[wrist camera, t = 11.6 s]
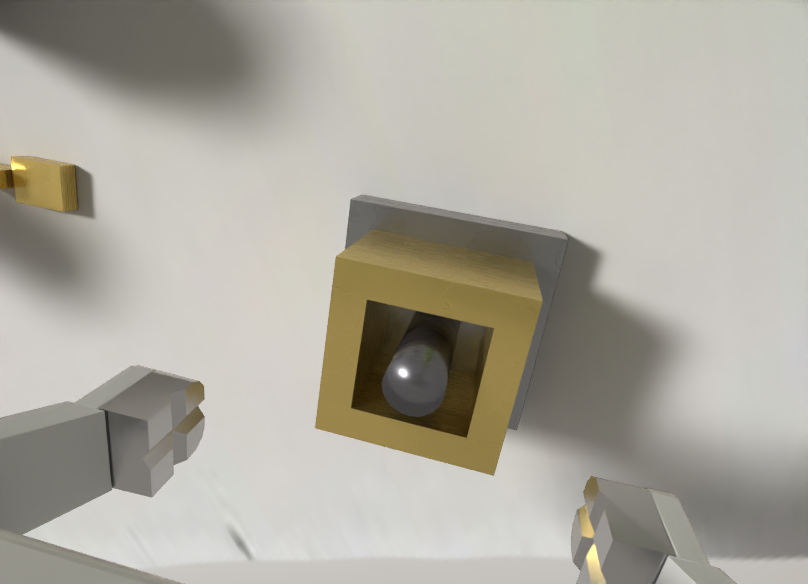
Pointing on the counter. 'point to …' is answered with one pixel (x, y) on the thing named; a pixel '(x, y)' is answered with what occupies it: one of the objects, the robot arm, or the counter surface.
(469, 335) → the grey peg stand
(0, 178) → the tan barbell toy
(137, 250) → the counter surface
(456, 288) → the end link
